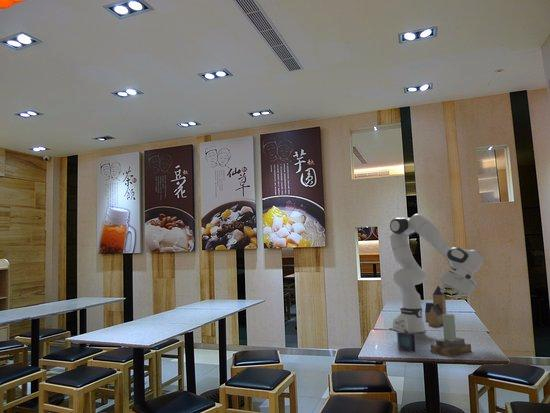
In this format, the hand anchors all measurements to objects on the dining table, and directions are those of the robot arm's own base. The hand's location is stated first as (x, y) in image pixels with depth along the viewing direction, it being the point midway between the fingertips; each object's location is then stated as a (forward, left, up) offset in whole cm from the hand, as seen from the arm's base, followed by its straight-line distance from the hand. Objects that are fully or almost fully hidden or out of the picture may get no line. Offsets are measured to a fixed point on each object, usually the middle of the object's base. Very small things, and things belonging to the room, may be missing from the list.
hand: (448, 295), depth 226 cm
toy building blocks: (-40, +41, -26) cm, 63 cm away
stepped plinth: (+11, -18, -25) cm, 33 cm away
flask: (-5, -32, -26) cm, 41 cm away
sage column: (+11, -18, -19) cm, 28 cm away
